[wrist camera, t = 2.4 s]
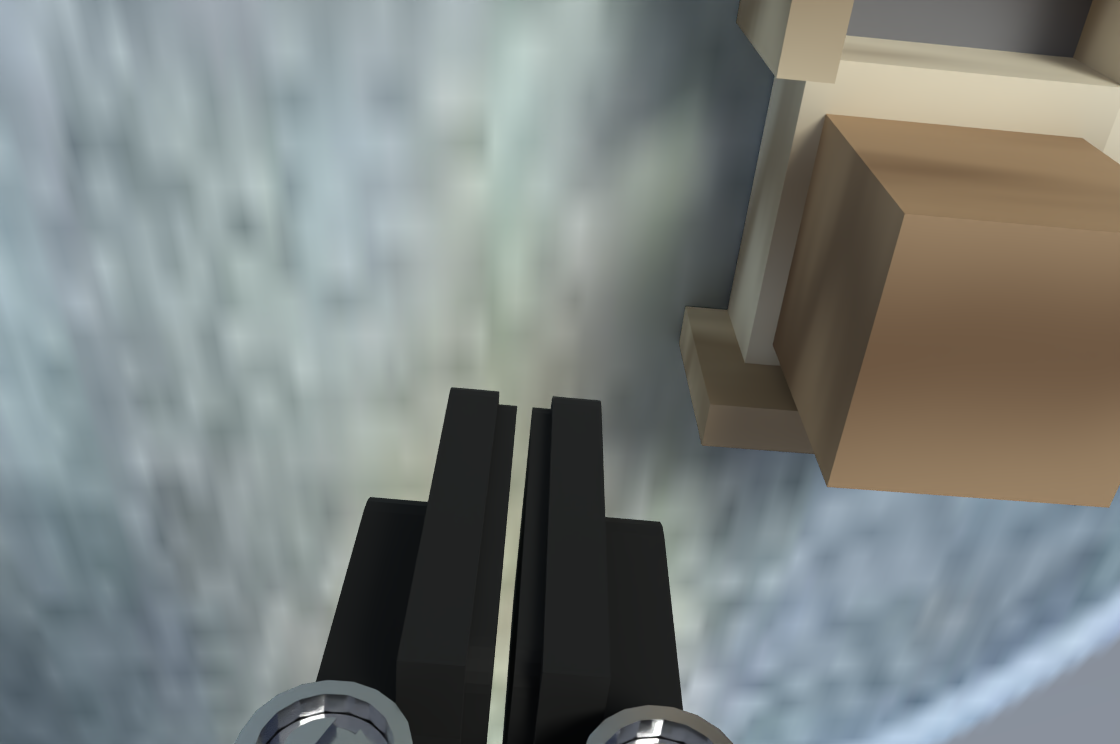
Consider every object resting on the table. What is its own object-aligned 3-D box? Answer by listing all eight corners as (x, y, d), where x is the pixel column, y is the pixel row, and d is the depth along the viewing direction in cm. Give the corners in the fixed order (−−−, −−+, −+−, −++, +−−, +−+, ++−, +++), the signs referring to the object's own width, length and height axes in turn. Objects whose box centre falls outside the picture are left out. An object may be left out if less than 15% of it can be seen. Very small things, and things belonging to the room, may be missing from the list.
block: (1000, 363, 22) (1108, 507, 18) (772, 344, 22) (827, 486, 18) (1081, 137, 20) (1231, 242, 15) (825, 114, 19) (904, 213, 15)
